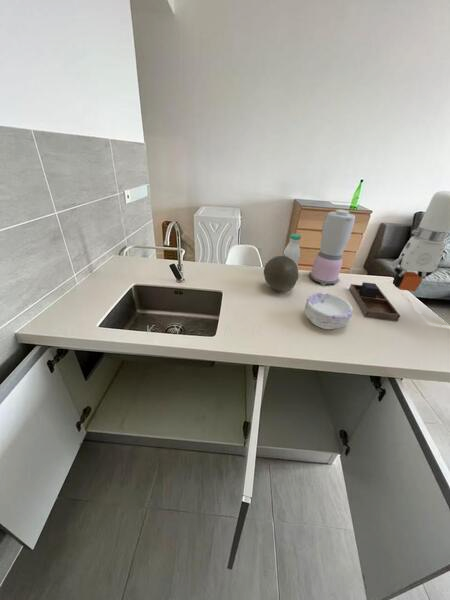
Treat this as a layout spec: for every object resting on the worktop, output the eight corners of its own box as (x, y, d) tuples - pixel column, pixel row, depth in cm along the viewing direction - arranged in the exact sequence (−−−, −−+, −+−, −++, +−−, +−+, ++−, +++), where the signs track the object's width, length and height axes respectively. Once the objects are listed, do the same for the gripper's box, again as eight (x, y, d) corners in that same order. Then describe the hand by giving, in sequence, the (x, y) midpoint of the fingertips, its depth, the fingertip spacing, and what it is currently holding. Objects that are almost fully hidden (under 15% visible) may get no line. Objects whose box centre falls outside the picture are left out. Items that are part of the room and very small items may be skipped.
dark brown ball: (282, 280, 114) (288, 250, 106) (301, 295, 103) (309, 262, 95) (256, 284, 110) (260, 253, 102) (272, 300, 98) (278, 266, 91)
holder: (375, 292, 109) (378, 287, 108) (397, 321, 90) (400, 315, 89) (349, 289, 110) (350, 284, 109) (364, 317, 92) (367, 311, 90)
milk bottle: (297, 274, 121) (306, 234, 111) (292, 279, 116) (301, 238, 105) (282, 270, 125) (290, 231, 114) (277, 275, 119) (284, 235, 108)
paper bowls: (337, 341, 79) (345, 321, 74) (294, 321, 87) (299, 302, 83) (352, 321, 89) (359, 303, 84) (312, 305, 97) (317, 287, 93)
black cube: (370, 293, 106) (375, 283, 104) (375, 299, 102) (379, 289, 100) (359, 292, 107) (362, 282, 104) (362, 297, 103) (366, 287, 100)
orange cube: (408, 284, 87) (414, 272, 84) (415, 291, 82) (422, 278, 80) (393, 283, 87) (399, 270, 85) (399, 289, 83) (406, 276, 80)
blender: (341, 285, 113) (366, 214, 97) (319, 287, 110) (340, 214, 94) (322, 271, 126) (340, 206, 110) (301, 272, 123) (316, 206, 107)
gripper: (406, 235, 73) (382, 288, 82) (468, 241, 71) (436, 294, 81) (395, 229, 79) (374, 279, 89) (452, 234, 78) (424, 284, 87)
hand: (404, 286), depth 85 cm, fingers closed on orange cube, 5 cm apart
